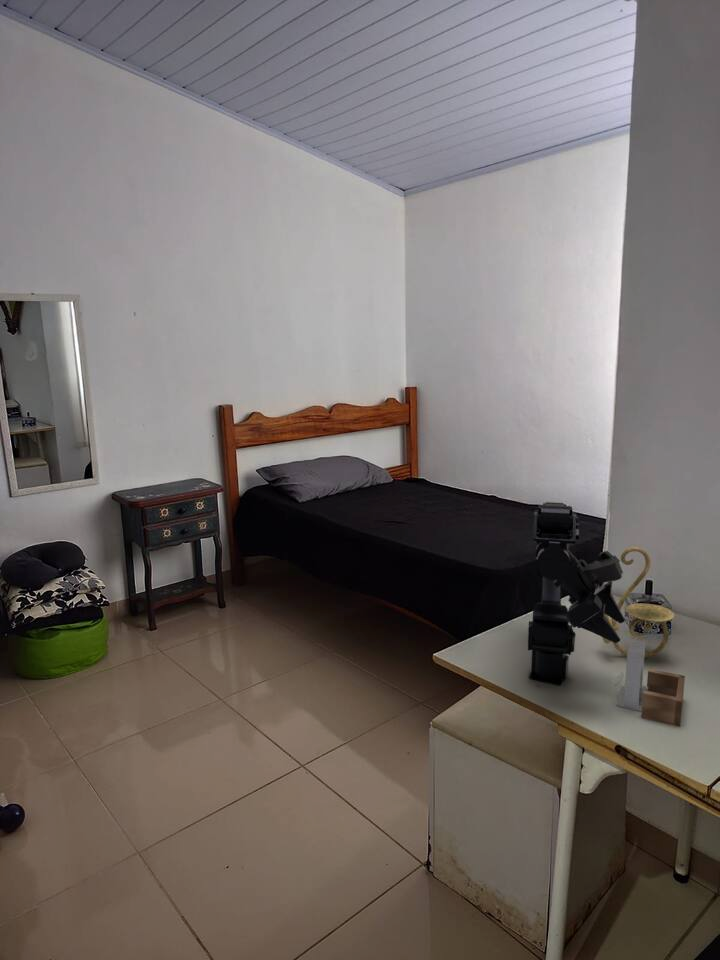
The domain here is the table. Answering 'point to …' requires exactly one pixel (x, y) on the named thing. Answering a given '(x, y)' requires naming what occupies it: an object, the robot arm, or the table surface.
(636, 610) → the wall sconce
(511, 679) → the table surface
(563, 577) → the robot arm
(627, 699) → the angle bracket
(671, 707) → the walnut u-shaped bracket
